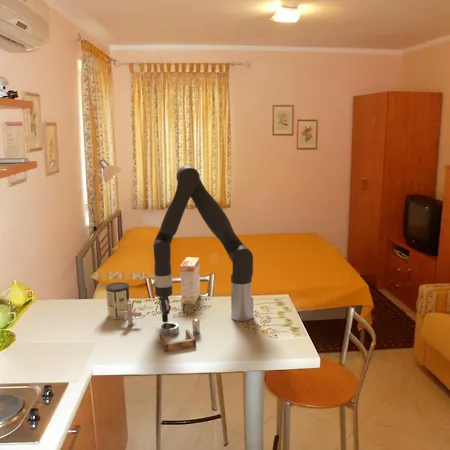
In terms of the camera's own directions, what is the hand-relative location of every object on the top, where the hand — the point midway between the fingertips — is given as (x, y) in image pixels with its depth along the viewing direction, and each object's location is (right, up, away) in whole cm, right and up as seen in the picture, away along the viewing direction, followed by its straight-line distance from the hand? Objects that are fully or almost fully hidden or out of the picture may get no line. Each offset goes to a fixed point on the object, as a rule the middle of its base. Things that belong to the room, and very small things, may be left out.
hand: (165, 321), depth 209 cm
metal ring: (+3, -3, -8) cm, 9 cm away
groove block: (+7, -5, -18) cm, 20 cm away
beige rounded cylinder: (+14, -3, -9) cm, 17 cm away
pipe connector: (-15, -2, +1) cm, 15 cm away
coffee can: (-23, +1, +12) cm, 26 cm away
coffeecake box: (+9, +5, +31) cm, 33 cm away
